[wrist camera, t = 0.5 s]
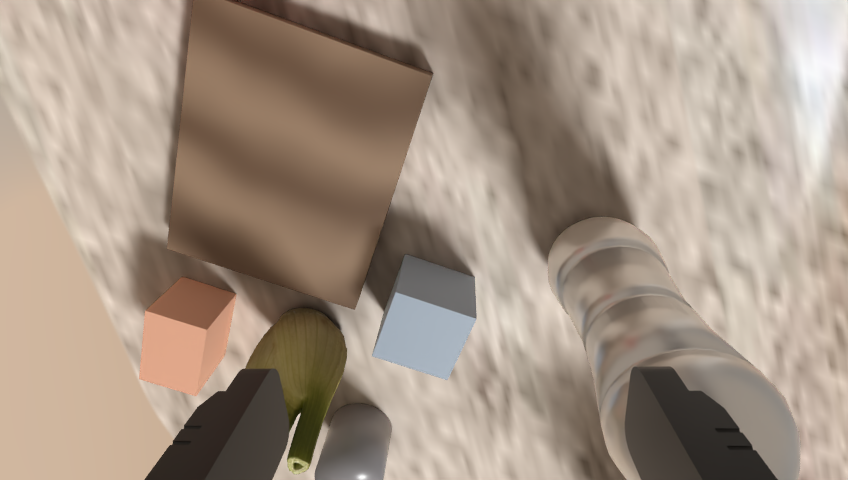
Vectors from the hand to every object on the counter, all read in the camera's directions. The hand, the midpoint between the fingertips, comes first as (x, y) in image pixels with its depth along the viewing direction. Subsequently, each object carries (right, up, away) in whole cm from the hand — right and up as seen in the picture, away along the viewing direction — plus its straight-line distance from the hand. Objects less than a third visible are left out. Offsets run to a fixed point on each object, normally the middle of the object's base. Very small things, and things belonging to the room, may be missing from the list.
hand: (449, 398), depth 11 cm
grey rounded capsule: (-6, -12, +28) cm, 31 cm away
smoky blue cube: (0, 0, +22) cm, 22 cm away
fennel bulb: (-9, -3, +24) cm, 26 cm away
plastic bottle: (+10, +3, +20) cm, 23 cm away
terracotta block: (-17, -2, +25) cm, 30 cm away
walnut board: (-9, +8, +19) cm, 22 cm away
